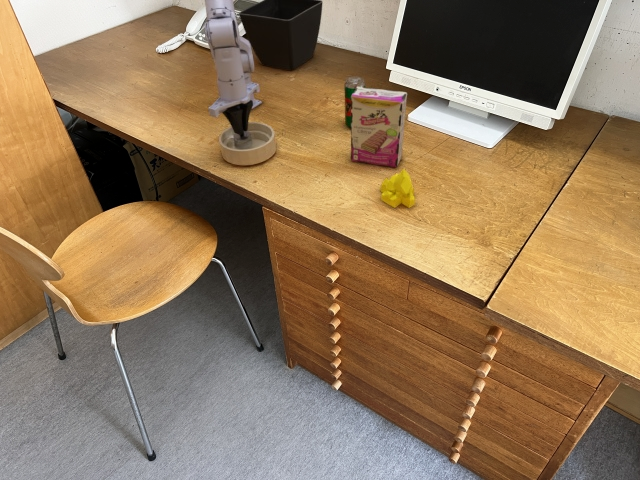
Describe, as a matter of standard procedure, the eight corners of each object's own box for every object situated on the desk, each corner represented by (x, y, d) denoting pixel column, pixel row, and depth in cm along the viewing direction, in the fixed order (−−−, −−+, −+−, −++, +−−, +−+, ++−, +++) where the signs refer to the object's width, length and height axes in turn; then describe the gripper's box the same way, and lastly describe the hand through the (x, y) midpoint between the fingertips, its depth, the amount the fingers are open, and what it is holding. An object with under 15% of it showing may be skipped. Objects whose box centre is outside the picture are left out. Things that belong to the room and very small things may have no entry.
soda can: (363, 130, 120) (363, 85, 112) (343, 129, 121) (342, 84, 113) (366, 120, 124) (366, 76, 116) (346, 119, 125) (346, 75, 117)
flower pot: (245, 67, 153) (236, 11, 142) (279, 46, 165) (274, -7, 153) (294, 77, 145) (289, 20, 134) (326, 55, 157) (324, 0, 146)
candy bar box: (350, 162, 110) (349, 95, 99) (356, 150, 114) (356, 85, 102) (397, 169, 107) (402, 101, 96) (402, 157, 111) (407, 90, 99)
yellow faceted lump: (392, 183, 103) (394, 153, 98) (421, 200, 99) (424, 168, 93) (373, 195, 101) (374, 164, 95) (402, 212, 96) (404, 181, 91)
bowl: (211, 157, 115) (207, 140, 112) (247, 132, 123) (244, 117, 119) (251, 173, 109) (248, 156, 106) (287, 147, 116) (285, 130, 113)
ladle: (230, 145, 115) (222, 102, 107) (243, 137, 117) (235, 95, 110) (244, 150, 113) (236, 107, 105) (256, 142, 115) (249, 99, 108)
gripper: (220, 93, 98) (232, 150, 107) (266, 67, 106) (273, 122, 115) (196, 86, 101) (210, 142, 110) (242, 61, 109) (251, 115, 118)
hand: (241, 131), depth 113 cm, fingers closed on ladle
